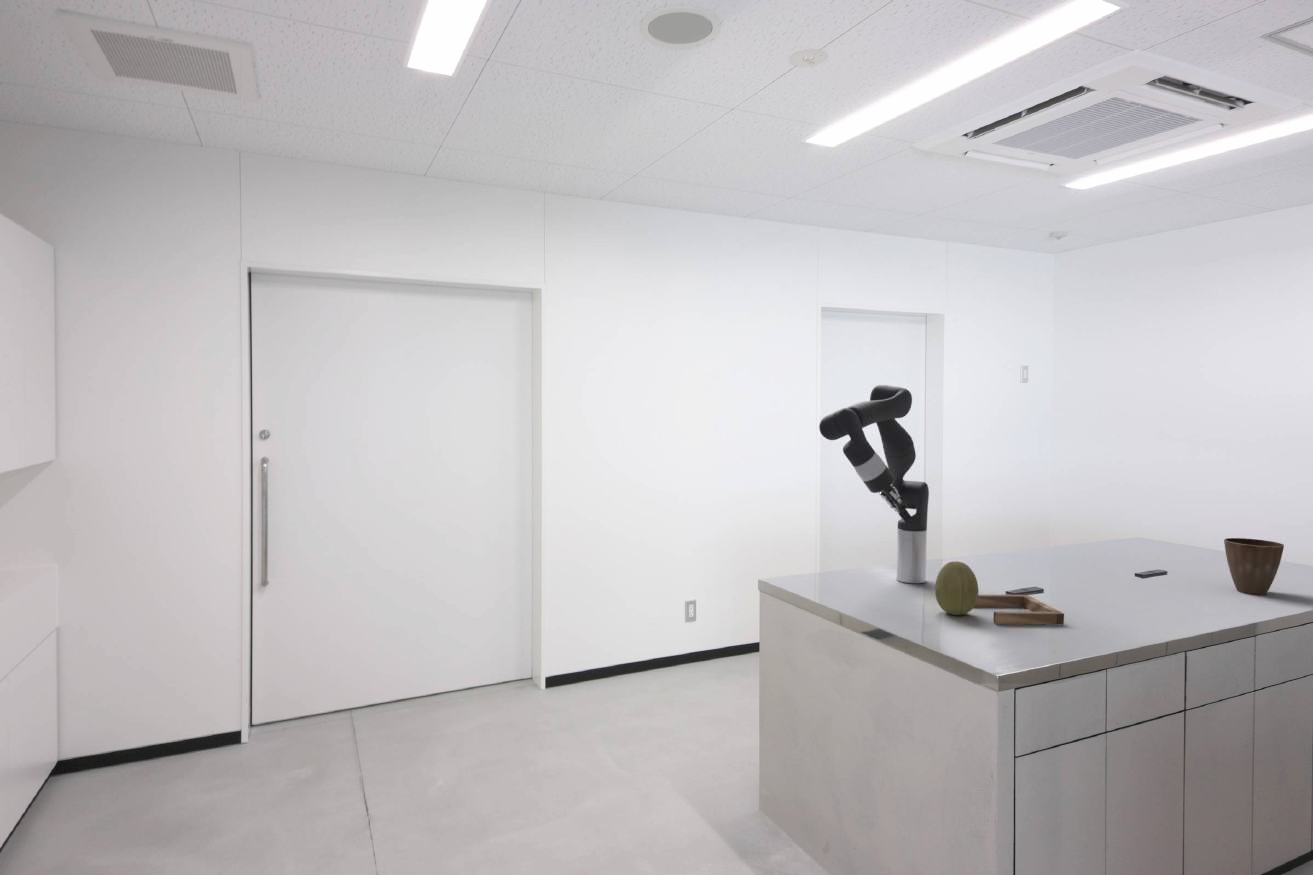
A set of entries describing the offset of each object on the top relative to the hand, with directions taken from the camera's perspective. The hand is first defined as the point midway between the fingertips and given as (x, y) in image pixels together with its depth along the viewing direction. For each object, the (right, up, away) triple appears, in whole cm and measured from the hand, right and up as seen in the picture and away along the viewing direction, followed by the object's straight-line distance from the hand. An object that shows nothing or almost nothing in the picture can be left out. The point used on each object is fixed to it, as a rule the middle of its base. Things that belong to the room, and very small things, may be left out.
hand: (908, 520), depth 210 cm
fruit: (+15, -27, +4) cm, 31 cm away
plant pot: (+119, -26, +31) cm, 125 cm away
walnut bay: (+30, -27, +4) cm, 40 cm away
